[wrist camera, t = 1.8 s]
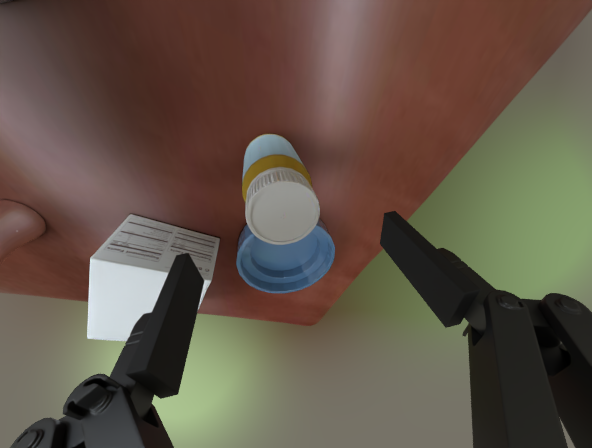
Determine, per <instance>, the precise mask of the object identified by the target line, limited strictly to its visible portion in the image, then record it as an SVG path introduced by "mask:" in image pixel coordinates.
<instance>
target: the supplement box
mask: <svg viewBox="0 0 592 448" xmlns="http://www.w3.org/2000/svg"><path fill="white" fill-rule="evenodd" d="M219 242H220V238H216V237H212V236H209V235H205V234H201V233H198V232H194V231H190V230H187V229H183V228H179V227H176V226H172V225H169V224H165V223H161V222H158V221H154V220H150V219H147V218H143V217H139V216H136V215H132V214H130V215H129V216H128V217H127V218H126V219H125V220H124V221H123V223H122V224H121V225H120V226H119V227H118V228H117V229H116V230H115V232H114V233H113V234H112V235H111V236H110V237H109V238H108V239H107V240H106V242H105V243H104V244H103V245H102V246H101V247H100V248H99V249H98V250H97V252H96V253H95V254H94V255H93V256H92V257H91V258H90V276H89V304H88V329H87V330H88V333H87V338H88V339H100V340H114V341H127V339H128V337H130V333H131V331H132V329H133V327H134V325H135V323H136V322H137V321H138V320H139V319H140V317H141V316H142V315H143V314H145V313H150V312H152V310H153V308H154V306H155V303H156V301H157V299H158V296H159V294H160V292H161V289H162V287H163V285H164V282H165V280H166V278H167V275H168V273H169V271H170V269H171V266H172V264H173V262H174V259H175V257H176V255H180V254H185V253H189V255H190V256H191V258H192V260H193V262H194V263H195V265H196V267H197V269H198V270H199V272H200V274H201V276H202V278H203V279H204V285H203V290H202V294H201V298H200V302H199V307H200V304H201V302H202V300H203V297H204V295H205V293H206V290H207V288H208V286H209V285H210V283H211V281H212V277H213V272H214V267H215V262H216V257H217V252H218V247H219ZM199 307H198V309H199Z"/></svg>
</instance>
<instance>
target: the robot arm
mask: <svg viewBox="0 0 592 448" xmlns="http://www.w3.org/2000/svg"><path fill="white" fill-rule="evenodd" d="M9 1H12V0H0V3H6V2H9ZM380 244H381V246H382V247H383V248H384V249H385V251H386V252H387V253H388V255H389V256H390V257H391V258H392V260H393V261H394V262H395V264H396V265H397V266H398V267H399V269H400V270H401V271H402V272H403V274H404V275H405V276H406V278H407V279H408V280H409V281H410V283H411V284H412V285H413V287H414V288H415V289H416V290H417V292H418V293H419V294H420V295H421V297H422V298H423V299H424V301H425V302H426V303H427V304H428V306H429V307H430V308H431V310H432V311H433V312H434V313H435V315H436V316H437V317H438V318H439V320H440V321H441V322H442V323H443V325H444V326H445V327H450V326H454V325H458V324H460V323H461V322H462V320H463V318H465V319H466V320H467V321H468V322H469V324H468V326H467V327H466V329H465V330H464V332H463V336H466V334H467V333H468V343H469V344H468V345H469V366H470V387H471V408H472V429H473V448H568V447H567V443H566V439H565V436H564V432H563V429H562V425H561V422H560V419H561V421H562V423H563V425H564V427H565V429H566V431H567V432H568V434H569V436H570V438H571V440H572V442H573V444H574V446H575V448H592V312H591V311H590V310H589V309H588V308H587V307H586V306H584V305H583V304H582V303H580V302H579V301H577V300H575V299H573V298H571V297H569V296H566V295H562V294H557V293H550V294H548V295H546V296H545V297H544V298H543V299H542V300H530V299H520V298H519V297H517V296H515V295H514V294H512V293H509V292H506V291H501V290H496V289H495V288H493V287H492V286H491V285H490V284H489V283H487V282H486V281H485V280H484V279H483V278H482V277H481V276H479V275H478V274H477V273H476V272H475V271H474V270H472V269H471V268H470V267H468V265H467V264H465V263H464V262H463V261H461V259H460V258H458V257H457V256H456V255H455V254H454V253H452V252H450V251H448V250H446V249H444V248H440V249H436V248H435V247H434V246H433V245H431V243H429V242H428V241H427V240H426V239H425V238H424V237H423V236H422V235H421V234H420V233H419V232H418V231H416V230H415V229H414V228H413V227H412V226H411V225H410V224H409V223H408V222H407V221H405V220H404V219H403V218H402V217H401V216H400V215H399V214H398V213H397V212H396V211H393V212H388V213H384V220H383V226H382V233H381V240H380ZM203 285H204V279H203V278H202V276H201V274H200V272H199V270H198V269H197V267H196V265H195V263H194V262H193V260H192V258H191V256H190V255H189V253H185V254H180V255H176V257H175V259H174V262H173V264H172V266H171V269H170V271H169V273H168V275H167V278H166V280H165V282H164V285H163V287H162V289H161V292H160V294H159V296H158V299H157V301H156V303H155V306H154V308H153V310H152V312H150V313H145V314H143V315H142V316H141V317H140V319H139V320H138V321H137V322H136V323H135V325H134V327H133V329H132V331H131V333H130V337H128V339H127V342H126V346H124V348H123V350H122V352H121V354H120V356H119V358H118V361H117V362H116V365H115V367H114V369H113V371H112V373H111V375H110V377H108V376H107V375H105V374H96V375H93V376H91V377H89V378H88V379H86V380H84V381H83V382H82V383H81V384H80V385H79V386H77V387H76V388H75V389H74V391H73V392H72V393H71V394H70V396H69V397H68V399H67V401H66V403H65V405H64V407H63V414H64V415H67V416H65V417H63V418H61V419H59V420H56V419H53V418H44V419H42V420H40V421H37V422H35V423H34V424H33V425H31V426H30V427H29V428H27V429H26V430H25V431H24V432H23V433H22V434H21V435H20V436H19V437H18V438H17V439H16V440H15V442H14V443H13V444H12V446H11V447H10V448H174V447H173V445H172V442H171V440H170V438H169V436H168V434H167V432H166V430H165V428H164V426H163V424H162V421H161V419H160V417H159V415H158V413H157V411H156V409H155V407H154V406H153V404H152V400H153V397H154V394H155V395H156V396H158V397H159V398H165V397H169V396H173V395H177V394H178V392H179V388H180V384H181V379H182V375H183V371H184V366H185V362H186V358H187V354H188V349H189V345H190V341H191V337H192V332H193V328H194V324H195V320H196V315H197V311H198V307H199V302H200V298H201V294H202V290H203ZM559 417H560V418H559Z"/></svg>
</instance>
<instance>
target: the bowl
mask: <svg viewBox="0 0 592 448" xmlns="http://www.w3.org/2000/svg"><path fill="white" fill-rule="evenodd" d="M334 255H335V246H334V243H333V241H332V238H331V236H330V234H329V232H328V230H327V228H326V226H325V224H324V223H323V222H322V221H321V220H320V219H318V222H317V224H316V226H315V227H314V229H313V230H312V231H311V232H310V233H309V234H308V235H307V236H306V237H304V238H303V239H301V240H299V241H297V242H294V243H290V244H285V245H276V244H270V243H267V242H264V241H262V240H260V239H259V238H257V237H256V236H255V235H254V234H253V233H252V232H251V230H250V228H249V226H248V225H246V226H245V228H244V229H243V231H242V233H241V235H240V236H239V240H238V248H237V260H236V265H237V268H238V271H239V274H240V276H241V277H242V278H243V279H244V281H245V282H246V283H247V284H248V285H250V286H252V287H254V288H256V289H257V290H260V291H265V292H269V293H289V292H294V291H299V290H301V289H304V288H306V287H309V286H310V285H312V284H314V283H315V282H317V281H318V280H320V279H321V278H322V277H323V276H324V275H325V274H326V272H327V271H328V270H329V269H330V267H331V265H332V263H333V260H334Z"/></svg>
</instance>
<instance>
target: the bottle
mask: <svg viewBox="0 0 592 448" xmlns="http://www.w3.org/2000/svg"><path fill="white" fill-rule="evenodd" d="M242 193H243V199H244V201H245V203H246V209H245V215H246V222H247V225H248V226H249V228H250V230H251V232H252V233H253V234H254V235H255V236H256V237H257V238H259V239H260V240H262V241H264V242H267V243H270V244H276V245H285V244H290V243H294V242H297V241H299V240H301V239H303V238H304V237H306V236H307V235H308V234H309V233H310V232H311V231H312V230H313V229H314V227H315V226H316V224H317V222H318V219H319V214H320V207H319V203H318V202H319V201H318V199H317V196H316V195H315V193H314V191H313V189H312V182H311V178H310V175H309V173H308V171H307V170H306V168H305V166H304V165H303V163H302V161H301V160H300V158H299V156H298V155H297V153H296V151H295V150H294V148H293V147H292V145H291V144H290V143H289V141H287V140H286V139H285V138H284V137H282V136H279V135H277V134H264V135H260V136H258V137H256V138H255V139H254V140H252V141H251V143H250V144H249V146H248V147H247V149H246V153H245V157H244V168H243V179H242Z"/></svg>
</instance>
